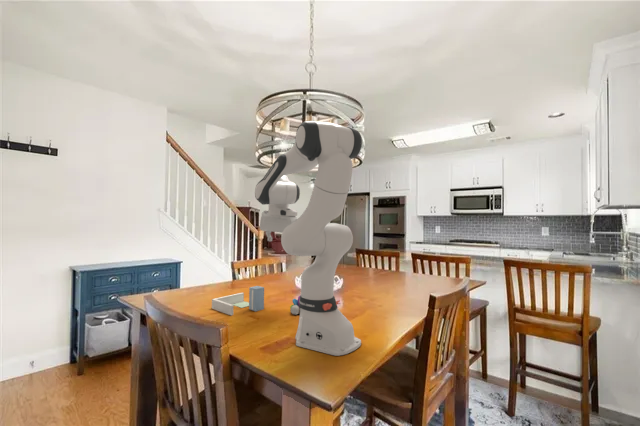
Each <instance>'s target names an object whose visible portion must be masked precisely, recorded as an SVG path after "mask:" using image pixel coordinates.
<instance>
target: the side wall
mask: <svg viewBox="0 0 640 426" xmlns="http://www.w3.org/2000/svg"><path fill="white" fill-rule="evenodd" d="M213 299H214V300H213V310H214V311H218V312H220V313H223V314H225V315H229V316H234V307H235V306H234V305H232V304H229V303H226V302H223V301H220V300H217V299H215V298H213Z"/></svg>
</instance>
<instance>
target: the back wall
mask: <svg viewBox="0 0 640 426" xmlns="http://www.w3.org/2000/svg"><path fill="white" fill-rule="evenodd" d="M244 298H245V293H244V292H238V293H235V294H231V295H230V294H229V295H225V296H224V295H223V296H221V297H216V298H212V299H211V309H213V300H214V299H217V300H220V301H223V302H226V303H229V304H236V303H240V302H244V301H245V299H244ZM213 310H214V309H213Z"/></svg>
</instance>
